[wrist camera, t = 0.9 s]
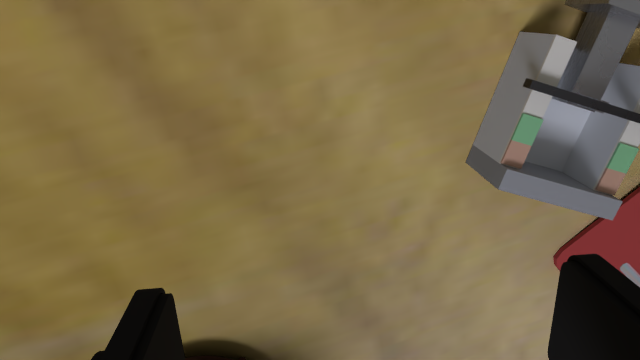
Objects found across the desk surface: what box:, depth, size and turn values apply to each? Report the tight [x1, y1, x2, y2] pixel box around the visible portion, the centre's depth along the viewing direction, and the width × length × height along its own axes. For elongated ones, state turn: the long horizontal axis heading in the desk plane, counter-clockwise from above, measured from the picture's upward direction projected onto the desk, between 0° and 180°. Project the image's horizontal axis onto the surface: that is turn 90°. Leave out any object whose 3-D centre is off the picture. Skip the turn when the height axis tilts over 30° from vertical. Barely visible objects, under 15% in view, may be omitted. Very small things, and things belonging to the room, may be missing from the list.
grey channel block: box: [523, 0, 640, 123], centre depth 33 cm, size 8×12×5 cm
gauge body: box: [466, 32, 640, 221], centre depth 36 cm, size 11×10×6 cm
